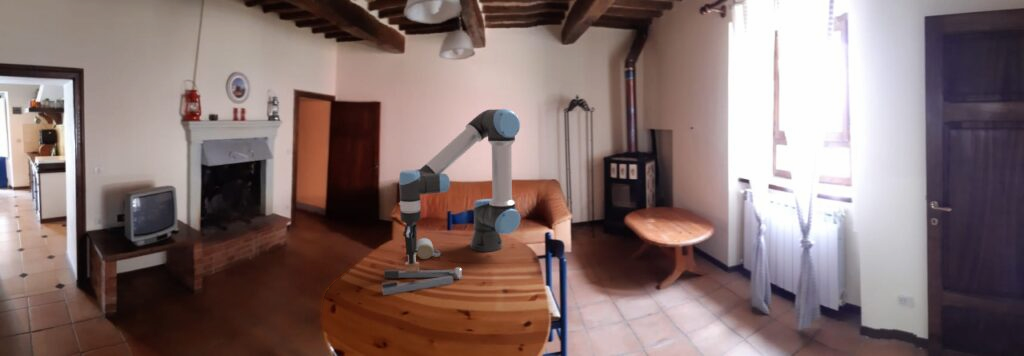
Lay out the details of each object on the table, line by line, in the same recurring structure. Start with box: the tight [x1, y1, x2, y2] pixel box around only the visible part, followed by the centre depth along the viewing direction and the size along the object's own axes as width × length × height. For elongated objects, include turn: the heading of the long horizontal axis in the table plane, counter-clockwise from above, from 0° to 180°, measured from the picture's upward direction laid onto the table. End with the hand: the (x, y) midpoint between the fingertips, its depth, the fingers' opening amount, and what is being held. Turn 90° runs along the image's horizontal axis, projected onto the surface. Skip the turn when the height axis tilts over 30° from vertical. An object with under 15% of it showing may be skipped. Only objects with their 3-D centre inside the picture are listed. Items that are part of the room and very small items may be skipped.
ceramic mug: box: [416, 237, 441, 260], centre depth 178 cm, size 11×8×8 cm
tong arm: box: [383, 261, 463, 280], centre depth 155 cm, size 29×6×5 cm, turn 93°
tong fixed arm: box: [381, 275, 454, 296], centre depth 146 cm, size 25×4×3 cm, turn 115°
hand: (412, 269), depth 158 cm, fingers closed
